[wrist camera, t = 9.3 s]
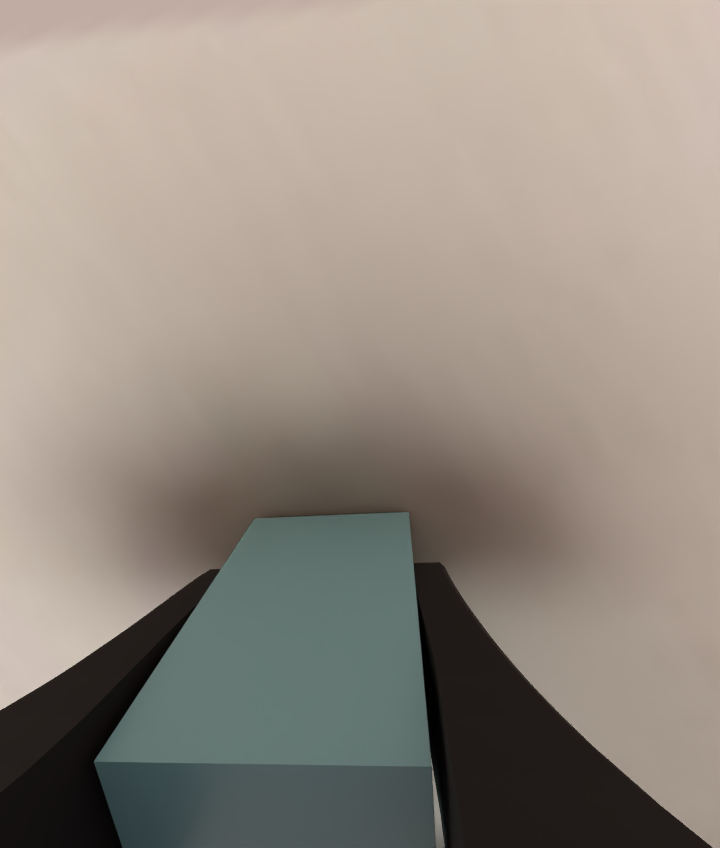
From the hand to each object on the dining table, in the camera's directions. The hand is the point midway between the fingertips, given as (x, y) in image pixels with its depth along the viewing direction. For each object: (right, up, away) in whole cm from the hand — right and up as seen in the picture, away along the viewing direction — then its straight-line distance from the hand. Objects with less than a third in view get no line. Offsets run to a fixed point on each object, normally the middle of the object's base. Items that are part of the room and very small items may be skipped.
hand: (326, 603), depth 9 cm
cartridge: (+1, -5, +3) cm, 6 cm away
